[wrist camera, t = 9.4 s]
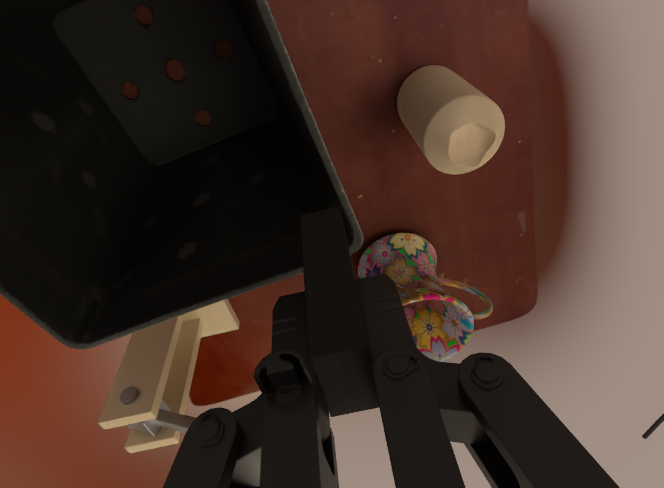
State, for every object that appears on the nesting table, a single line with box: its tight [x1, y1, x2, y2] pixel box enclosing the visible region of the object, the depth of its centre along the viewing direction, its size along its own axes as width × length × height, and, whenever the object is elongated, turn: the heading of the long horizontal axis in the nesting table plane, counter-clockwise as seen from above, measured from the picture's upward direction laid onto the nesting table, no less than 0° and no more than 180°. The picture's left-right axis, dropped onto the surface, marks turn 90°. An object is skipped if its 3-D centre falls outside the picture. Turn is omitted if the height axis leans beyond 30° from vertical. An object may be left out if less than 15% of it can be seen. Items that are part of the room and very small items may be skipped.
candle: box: [397, 65, 505, 174], centre depth 30 cm, size 6×6×10 cm
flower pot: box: [0, 0, 363, 349], centre depth 25 cm, size 19×19×17 cm
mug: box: [358, 233, 493, 362], centre depth 40 cm, size 12×9×11 cm
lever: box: [127, 399, 196, 437], centre depth 33 cm, size 13×6×2 cm, turn 103°
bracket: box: [98, 299, 240, 453], centre depth 39 cm, size 11×9×15 cm
